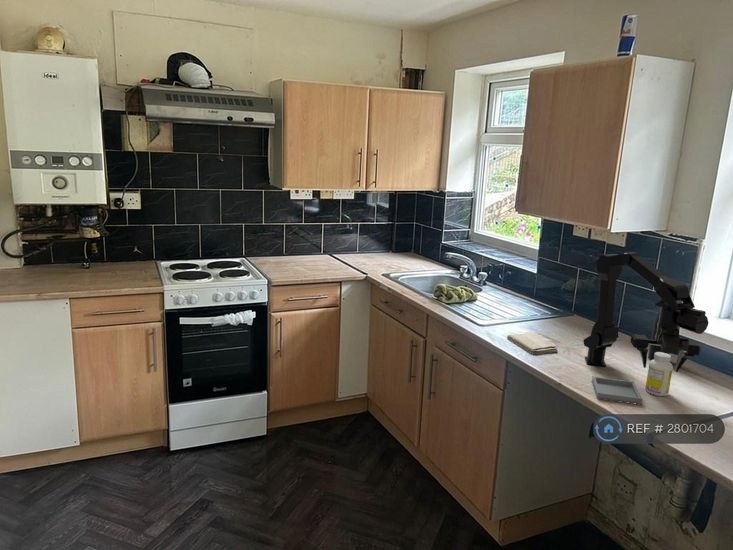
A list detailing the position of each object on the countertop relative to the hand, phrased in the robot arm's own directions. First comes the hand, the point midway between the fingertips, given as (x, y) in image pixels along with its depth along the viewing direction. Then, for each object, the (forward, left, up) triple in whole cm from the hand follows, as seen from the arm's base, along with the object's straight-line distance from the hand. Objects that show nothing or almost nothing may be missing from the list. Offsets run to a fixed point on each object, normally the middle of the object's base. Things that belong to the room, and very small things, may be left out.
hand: (660, 369), depth 173 cm
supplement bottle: (0, 0, -8) cm, 8 cm away
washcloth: (-29, -38, -8) cm, 48 cm away
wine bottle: (-30, +7, -8) cm, 32 cm away
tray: (+5, -13, -8) cm, 16 cm away
